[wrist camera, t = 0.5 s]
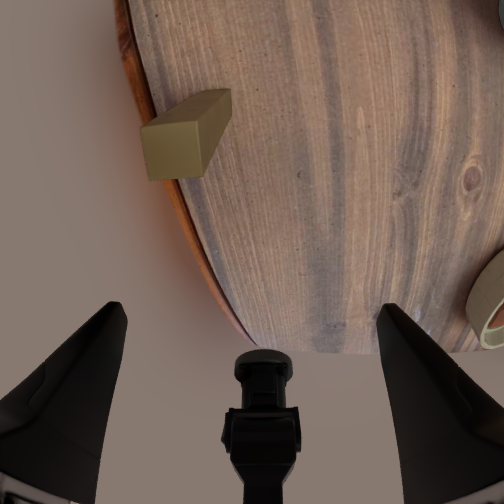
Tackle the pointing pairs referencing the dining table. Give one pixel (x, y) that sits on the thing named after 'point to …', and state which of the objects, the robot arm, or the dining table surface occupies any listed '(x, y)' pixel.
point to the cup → (501, 12)
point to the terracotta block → (497, 317)
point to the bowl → (487, 303)
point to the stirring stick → (186, 136)
